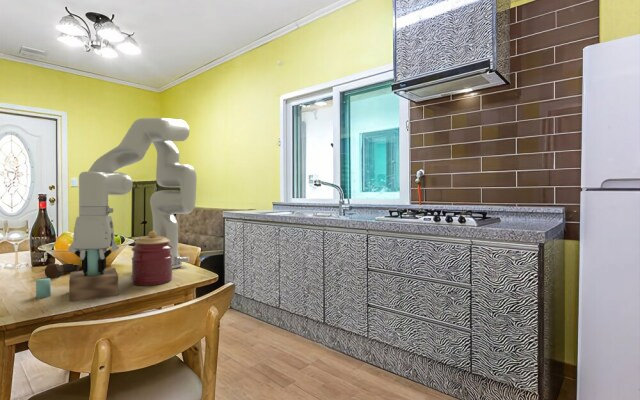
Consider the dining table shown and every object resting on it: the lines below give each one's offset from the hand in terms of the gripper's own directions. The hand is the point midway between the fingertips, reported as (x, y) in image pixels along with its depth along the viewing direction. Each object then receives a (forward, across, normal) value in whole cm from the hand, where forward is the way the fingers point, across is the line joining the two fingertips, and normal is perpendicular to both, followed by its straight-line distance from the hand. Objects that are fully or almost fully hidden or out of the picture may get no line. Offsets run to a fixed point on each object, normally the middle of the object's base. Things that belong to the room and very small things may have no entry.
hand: (94, 271), depth 107 cm
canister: (+7, -14, -12) cm, 20 cm away
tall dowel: (+4, 0, 0) cm, 4 cm away
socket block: (+7, 0, 0) cm, 7 cm away
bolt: (+7, +19, -29) cm, 36 cm away
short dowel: (+7, +13, +1) cm, 15 cm away
